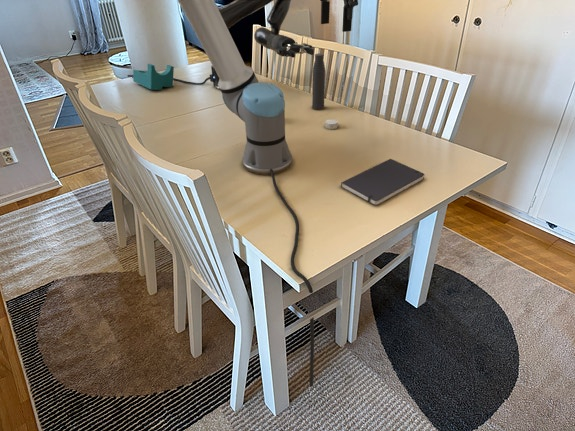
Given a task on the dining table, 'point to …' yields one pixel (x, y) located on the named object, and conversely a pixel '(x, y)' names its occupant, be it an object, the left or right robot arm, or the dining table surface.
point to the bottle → (318, 83)
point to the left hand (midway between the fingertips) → (303, 53)
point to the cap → (331, 124)
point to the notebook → (382, 181)
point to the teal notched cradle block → (154, 77)
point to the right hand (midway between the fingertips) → (335, 27)
